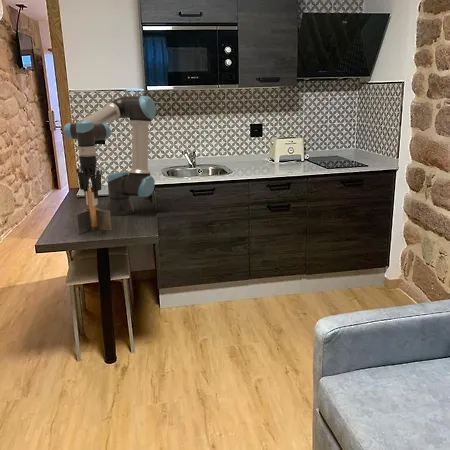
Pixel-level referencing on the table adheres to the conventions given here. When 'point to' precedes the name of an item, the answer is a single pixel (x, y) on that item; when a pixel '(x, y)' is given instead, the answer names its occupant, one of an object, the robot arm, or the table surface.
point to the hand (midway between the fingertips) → (92, 204)
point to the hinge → (85, 222)
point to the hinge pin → (92, 208)
